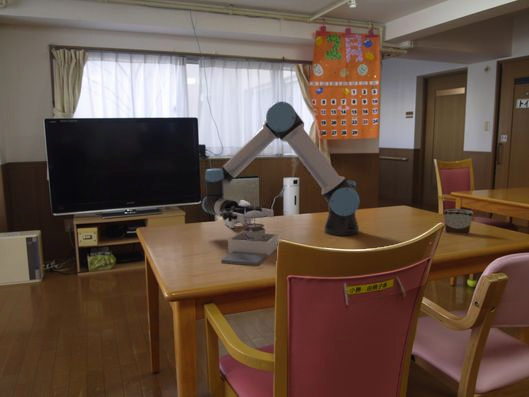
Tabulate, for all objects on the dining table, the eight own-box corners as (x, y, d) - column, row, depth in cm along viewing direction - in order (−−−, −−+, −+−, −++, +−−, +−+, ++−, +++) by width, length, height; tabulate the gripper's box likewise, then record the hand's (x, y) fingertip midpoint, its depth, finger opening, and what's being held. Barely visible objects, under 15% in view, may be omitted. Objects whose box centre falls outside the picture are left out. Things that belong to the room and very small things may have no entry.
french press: (247, 255, 154) (246, 186, 151) (236, 247, 165) (235, 183, 161) (272, 252, 158) (271, 185, 155) (259, 244, 169) (259, 182, 165)
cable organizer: (252, 228, 200) (251, 203, 198) (230, 230, 196) (229, 205, 195) (243, 222, 214) (242, 199, 212) (222, 223, 210) (222, 200, 209)
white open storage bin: (278, 246, 166) (278, 234, 165) (268, 256, 153) (268, 242, 152) (241, 244, 170) (241, 231, 170) (228, 252, 158) (228, 239, 157)
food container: (472, 232, 188) (473, 209, 186) (472, 235, 182) (474, 212, 181) (442, 229, 193) (443, 207, 192) (441, 232, 188) (442, 210, 186)
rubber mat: (267, 256, 152) (267, 253, 152) (257, 265, 142) (257, 262, 142) (233, 253, 156) (233, 251, 156) (221, 262, 146) (221, 259, 146)
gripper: (252, 214, 182) (284, 221, 165) (200, 221, 167) (230, 230, 150) (251, 196, 181) (284, 202, 164) (200, 202, 166) (229, 209, 149)
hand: (258, 216), depth 157 cm, fingers open, 13 cm apart
